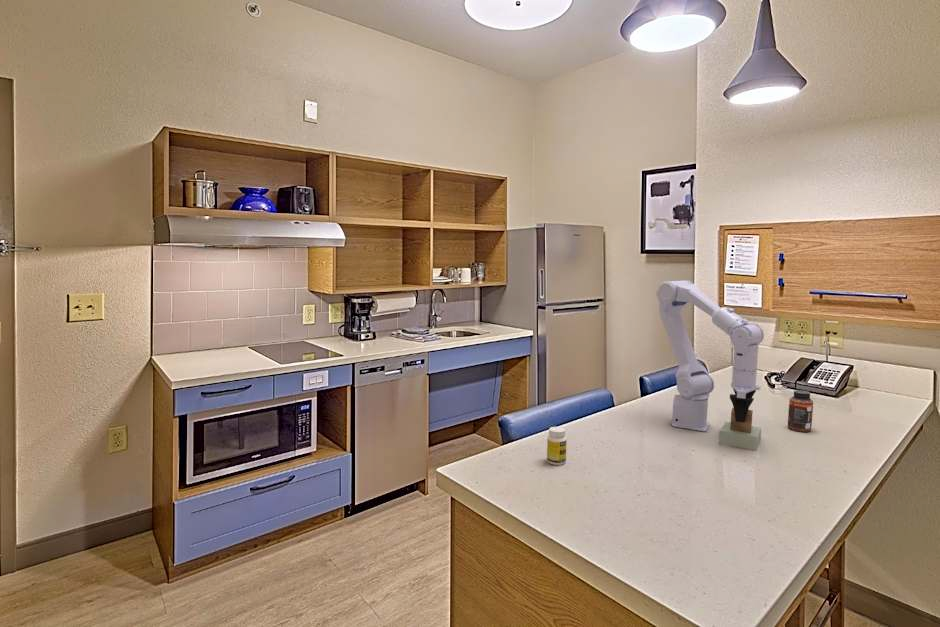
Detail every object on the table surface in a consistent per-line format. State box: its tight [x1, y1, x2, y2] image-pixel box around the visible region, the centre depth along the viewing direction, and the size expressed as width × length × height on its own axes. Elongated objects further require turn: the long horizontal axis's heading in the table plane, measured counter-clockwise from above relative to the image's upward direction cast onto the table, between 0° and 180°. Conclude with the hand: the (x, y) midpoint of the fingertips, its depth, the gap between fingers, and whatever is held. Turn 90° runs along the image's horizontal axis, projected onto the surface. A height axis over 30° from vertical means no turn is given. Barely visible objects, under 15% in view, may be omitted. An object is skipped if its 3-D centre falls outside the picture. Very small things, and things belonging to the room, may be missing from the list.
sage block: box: [718, 421, 762, 452], centre depth 145 cm, size 9×9×4 cm
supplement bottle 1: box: [546, 426, 567, 466], centre depth 132 cm, size 5×5×8 cm
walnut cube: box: [730, 407, 754, 433], centre depth 145 cm, size 5×5×5 cm
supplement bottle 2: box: [787, 389, 814, 433], centre depth 154 cm, size 6×6×11 cm
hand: (741, 417), depth 144 cm, fingers open, 7 cm apart
